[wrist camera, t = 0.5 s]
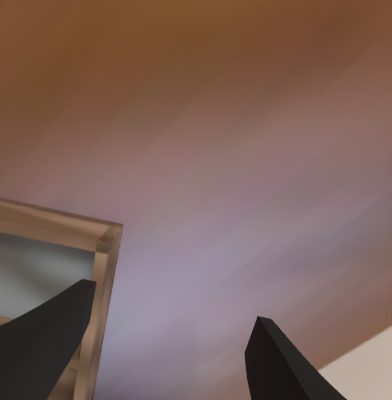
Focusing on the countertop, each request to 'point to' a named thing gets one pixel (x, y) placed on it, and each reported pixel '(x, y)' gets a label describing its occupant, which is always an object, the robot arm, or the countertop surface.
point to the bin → (58, 277)
